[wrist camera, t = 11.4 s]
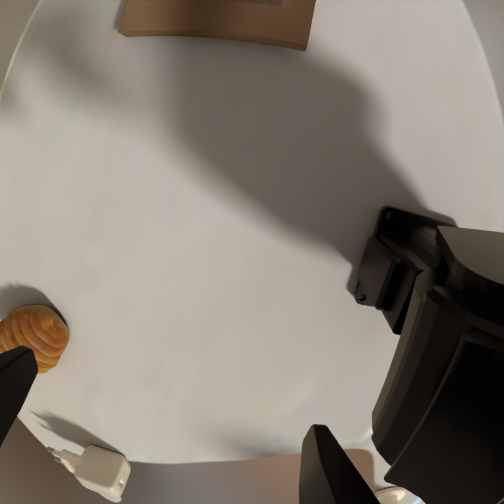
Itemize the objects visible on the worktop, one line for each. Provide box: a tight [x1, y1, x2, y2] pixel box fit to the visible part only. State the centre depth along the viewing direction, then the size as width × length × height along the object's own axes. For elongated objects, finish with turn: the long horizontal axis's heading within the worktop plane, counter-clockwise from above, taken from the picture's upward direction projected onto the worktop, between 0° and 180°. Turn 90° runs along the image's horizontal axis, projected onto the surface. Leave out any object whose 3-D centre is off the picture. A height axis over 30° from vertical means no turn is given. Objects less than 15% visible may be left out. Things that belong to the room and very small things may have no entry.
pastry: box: [0, 305, 69, 374], centre depth 21 cm, size 9×7×4 cm
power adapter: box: [47, 445, 130, 498], centre depth 27 cm, size 11×5×6 cm, turn 87°
